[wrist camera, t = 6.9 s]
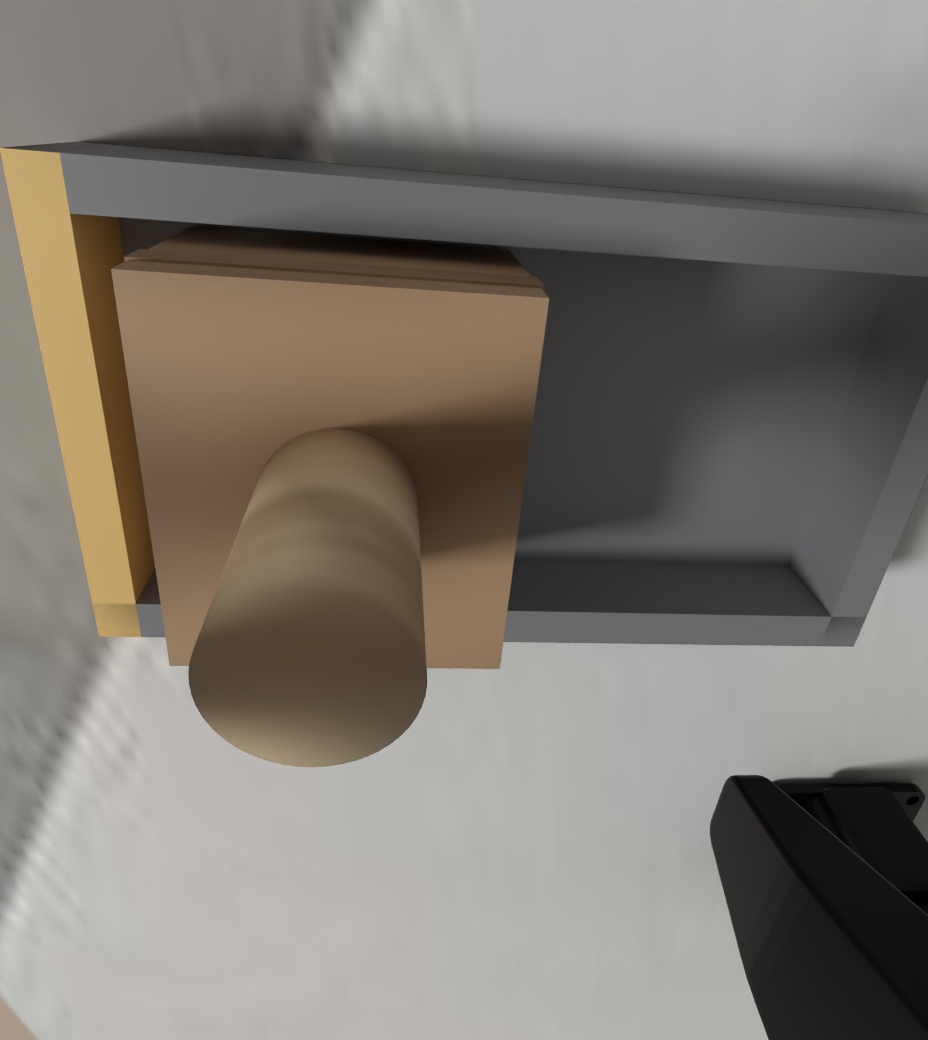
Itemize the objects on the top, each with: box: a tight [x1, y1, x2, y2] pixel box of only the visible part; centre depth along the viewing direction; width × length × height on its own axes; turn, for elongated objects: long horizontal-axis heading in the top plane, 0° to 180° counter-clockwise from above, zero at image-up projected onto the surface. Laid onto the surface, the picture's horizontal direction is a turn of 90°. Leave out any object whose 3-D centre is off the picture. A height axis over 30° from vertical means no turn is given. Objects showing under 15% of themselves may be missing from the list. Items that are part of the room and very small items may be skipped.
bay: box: [0, 142, 928, 647], centre depth 18 cm, size 11×20×4 cm, turn 85°
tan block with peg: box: [111, 227, 549, 767], centre depth 14 cm, size 8×7×10 cm
